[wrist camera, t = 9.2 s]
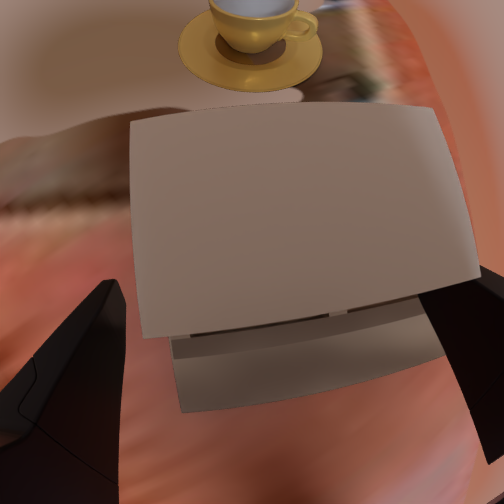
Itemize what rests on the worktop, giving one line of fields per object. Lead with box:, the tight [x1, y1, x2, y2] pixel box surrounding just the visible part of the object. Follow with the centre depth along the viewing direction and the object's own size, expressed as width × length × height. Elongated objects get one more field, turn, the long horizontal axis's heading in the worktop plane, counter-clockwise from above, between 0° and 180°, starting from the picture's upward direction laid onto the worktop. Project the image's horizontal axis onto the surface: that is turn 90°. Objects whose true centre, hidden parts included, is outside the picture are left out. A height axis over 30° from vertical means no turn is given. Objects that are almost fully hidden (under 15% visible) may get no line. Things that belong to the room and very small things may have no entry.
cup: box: [178, 0, 323, 92], centre depth 20 cm, size 12×12×5 cm
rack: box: [168, 294, 446, 413], centre depth 18 cm, size 14×18×3 cm
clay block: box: [130, 102, 481, 339], centre depth 11 cm, size 3×5×14 cm, turn 98°
